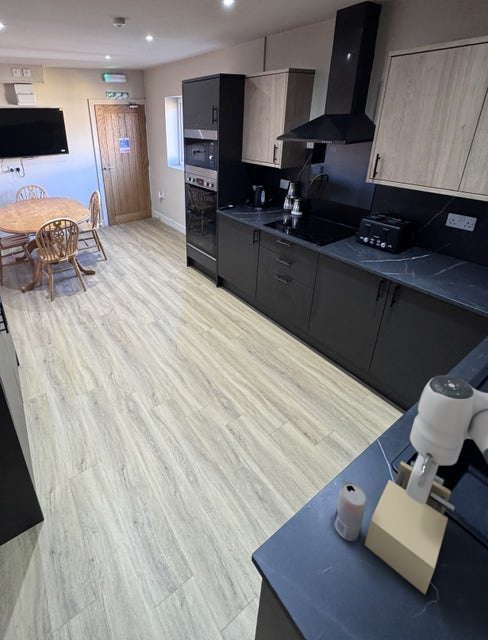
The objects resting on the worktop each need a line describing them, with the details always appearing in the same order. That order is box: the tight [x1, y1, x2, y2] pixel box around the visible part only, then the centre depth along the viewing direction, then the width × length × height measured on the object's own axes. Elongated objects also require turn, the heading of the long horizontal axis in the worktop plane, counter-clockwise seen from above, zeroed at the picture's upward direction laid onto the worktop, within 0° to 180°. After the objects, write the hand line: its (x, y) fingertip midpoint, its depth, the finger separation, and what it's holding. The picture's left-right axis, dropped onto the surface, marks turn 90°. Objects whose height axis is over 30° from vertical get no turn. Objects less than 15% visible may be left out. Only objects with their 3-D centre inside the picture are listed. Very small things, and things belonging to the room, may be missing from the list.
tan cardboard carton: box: [364, 479, 449, 595], centre depth 72 cm, size 13×12×9 cm
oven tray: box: [395, 460, 452, 515], centre depth 79 cm, size 16×10×7 cm, turn 133°
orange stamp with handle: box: [429, 492, 455, 513], centre depth 76 cm, size 8×3×2 cm, turn 43°
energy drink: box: [333, 481, 367, 542], centre depth 75 cm, size 5×5×12 cm
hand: (421, 484), depth 77 cm, fingers closed on orange stamp with handle, 3 cm apart
